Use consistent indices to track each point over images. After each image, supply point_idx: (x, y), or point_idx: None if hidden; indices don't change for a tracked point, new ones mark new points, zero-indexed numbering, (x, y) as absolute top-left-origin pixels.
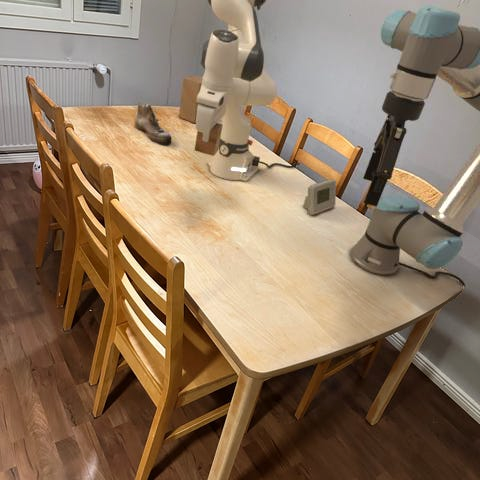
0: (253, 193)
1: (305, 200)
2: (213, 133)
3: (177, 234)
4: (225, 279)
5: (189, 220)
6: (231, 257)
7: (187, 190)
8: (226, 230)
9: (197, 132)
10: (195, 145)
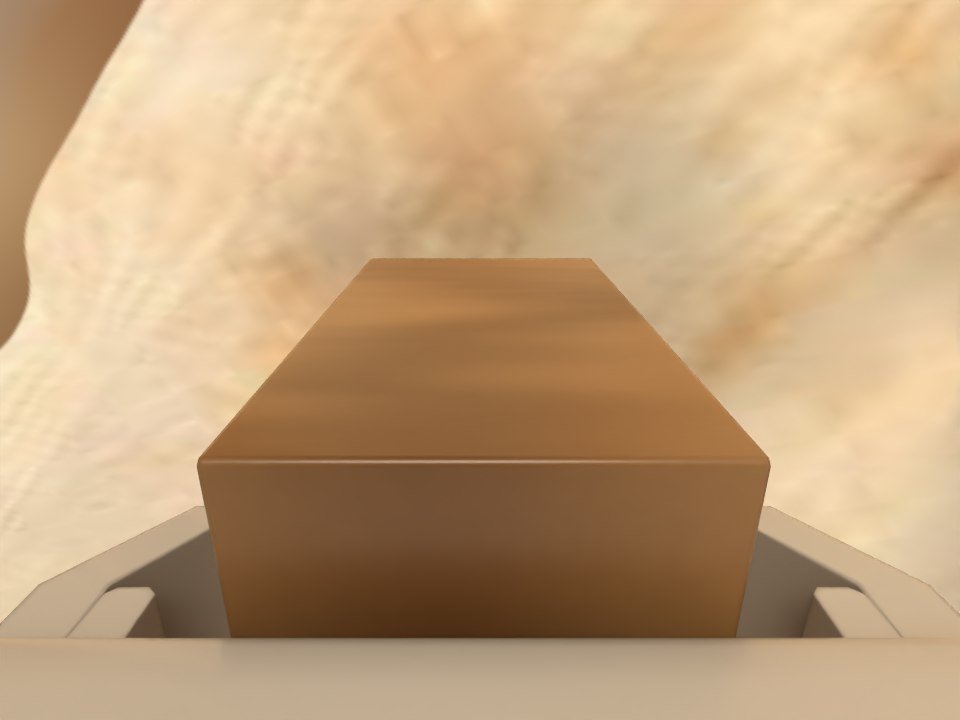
0: (835, 461)
1: None
2: None
3: (180, 226)
4: (16, 508)
5: (351, 237)
6: (173, 495)
7: (701, 102)
8: None
9: (289, 357)
10: (355, 279)
